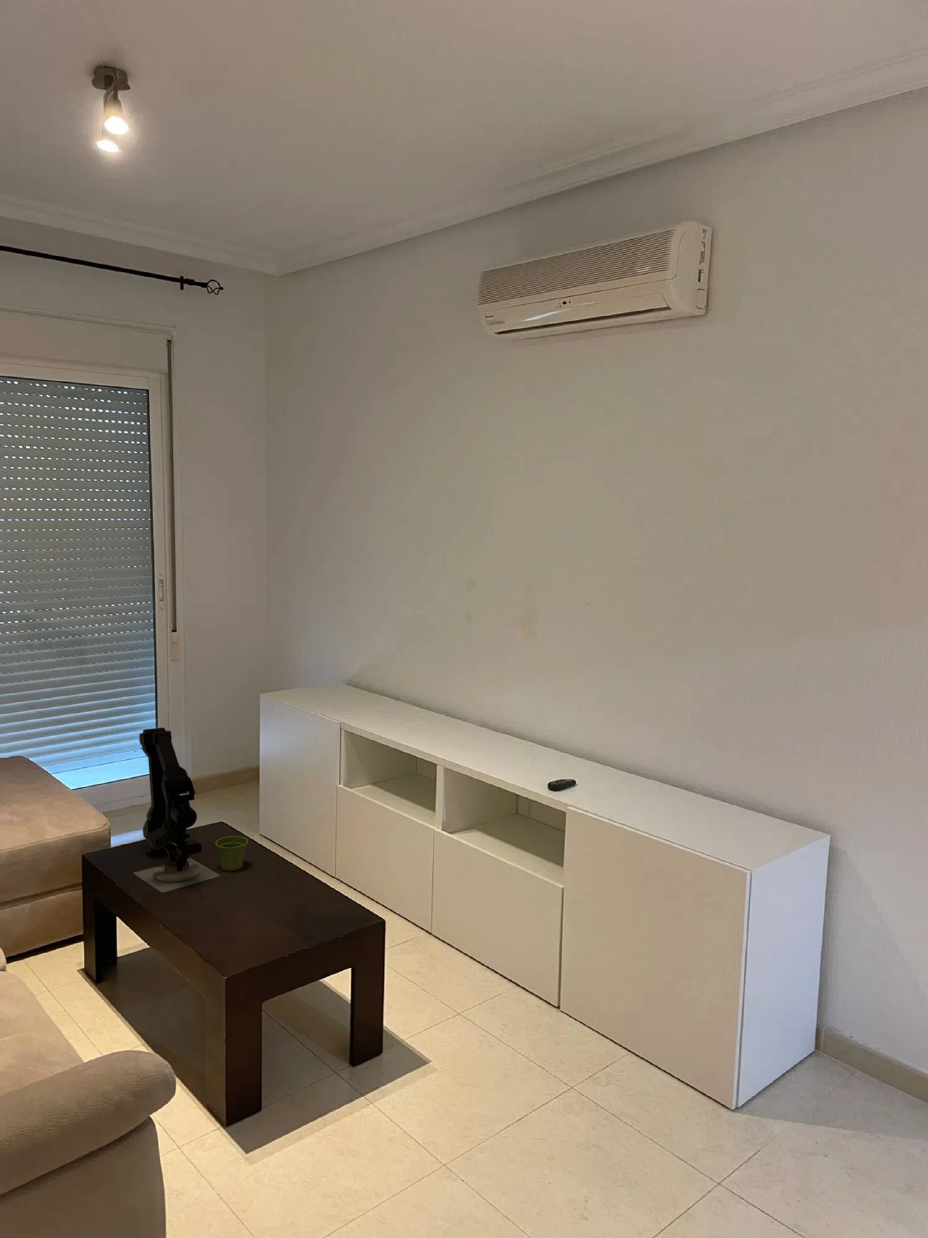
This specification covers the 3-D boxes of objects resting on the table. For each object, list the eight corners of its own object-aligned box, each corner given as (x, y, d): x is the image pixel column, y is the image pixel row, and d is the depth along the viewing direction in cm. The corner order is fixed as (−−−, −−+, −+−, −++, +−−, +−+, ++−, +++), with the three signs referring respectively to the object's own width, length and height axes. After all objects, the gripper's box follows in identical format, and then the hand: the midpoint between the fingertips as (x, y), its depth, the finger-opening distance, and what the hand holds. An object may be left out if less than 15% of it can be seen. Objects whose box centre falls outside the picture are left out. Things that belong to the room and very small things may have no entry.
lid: (145, 871, 262) (145, 861, 261) (186, 860, 271) (186, 851, 271) (166, 885, 253) (166, 875, 252) (208, 873, 262) (208, 863, 262)
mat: (132, 876, 262) (132, 873, 262) (189, 860, 275) (189, 857, 275) (162, 896, 249) (162, 892, 249) (220, 879, 262) (220, 875, 262)
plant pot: (250, 873, 267) (250, 845, 266) (217, 877, 263) (217, 849, 262) (245, 862, 275) (245, 834, 274) (213, 865, 272) (213, 838, 271)
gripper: (135, 815, 261) (135, 866, 263) (165, 832, 248) (166, 887, 250) (171, 807, 269) (171, 857, 270) (202, 823, 256) (202, 876, 257)
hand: (176, 869), depth 262 cm, fingers closed on lid, 3 cm apart
